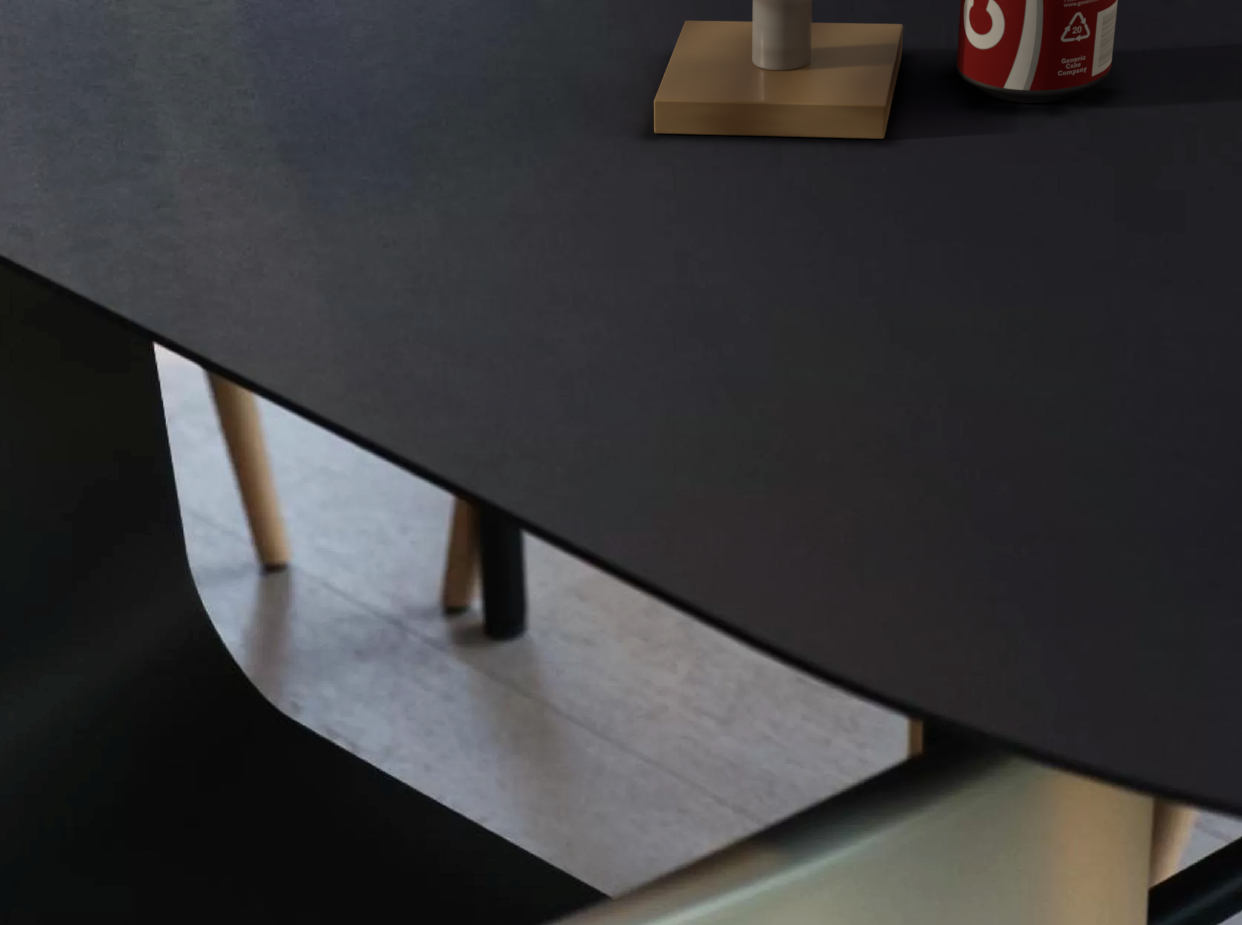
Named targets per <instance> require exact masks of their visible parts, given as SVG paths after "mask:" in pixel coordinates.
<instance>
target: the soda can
mask: <svg viewBox="0 0 1242 925" xmlns="http://www.w3.org/2000/svg"><path fill="white" fill-rule="evenodd" d="M1118 2H1119V0H960V2H959V3H960V4H959V19H958V20H959V21H958V36H957V51H956V71H957V73H958V75H959V76H960V77H961V78H962V79H963V80H964V81H965V82H966V83H969V84H970V85H972V86H973V87H976V88H977V89H978V90H979V91H980V92H982V93H983V94H985V95H987V96H989V97H992V98H993V99H997V100H1002V101H1006V102H1012V103H1020V104H1046V103H1047V104H1048V103H1054V102H1061V101H1065V100H1069V99H1071V98H1074V97H1076V96H1079V95H1081V94H1083V93H1084V92H1085V91H1086V90H1088V89H1091V88H1093V87H1095V86H1097V85H1098V84H1100V83H1101V82H1103V81H1104V80H1106V78H1107V77H1108V76H1109V75H1110V72H1111V70H1112V61H1113V52H1114V51H1113V50H1114V41H1115V32H1116V22H1117V12H1118Z"/></svg>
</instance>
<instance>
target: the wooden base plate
mask: <svg viewBox="0 0 1242 925" xmlns="http://www.w3.org/2000/svg"><path fill="white" fill-rule="evenodd" d="M903 35H904V25H903V24H902V23H863V22H861V23H860V22H859V23H857V22H852V23H851V22H813V0H752V20H751V21H742V20H741V21H738V20H737V21H735V20H734V21H733V20H732V21H731V20H729V21H728V20H685V21H684V23H683V26H682V29H681V31H680V33H679V36H678V38H677V40H676V44H675V45H674V49H673V51H672V54H671V56H670V59H669V62H668V64H667V67H666V69H665V72H664V74H663V77H662V78H661V82H660V84H659V87H658V90H657V92H656V95H655V97H654V100H653V129H654V130H653V132H654V134H658V135H659V134H660V135H661V134H662V135H699V136H701V135H702V136H737V137H738V136H740V137H741V136H742V137H743V136H745V137H782V138H783V137H784V138H785V137H786V138H787V137H788V138H821V139H822V138H825V139H826V138H827V139H828V138H829V139H864V140H865V139H868V140H869V139H870V140H871V139H872V140H884V139H885V138H886V131H887V127H888V123H889V118H890V112H891V108H892V102H893V98H894V93H895V90H896V84H897V80H898V75H899V70H900V65H901V61H902V56H903V39H904V38H903Z"/></svg>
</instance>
